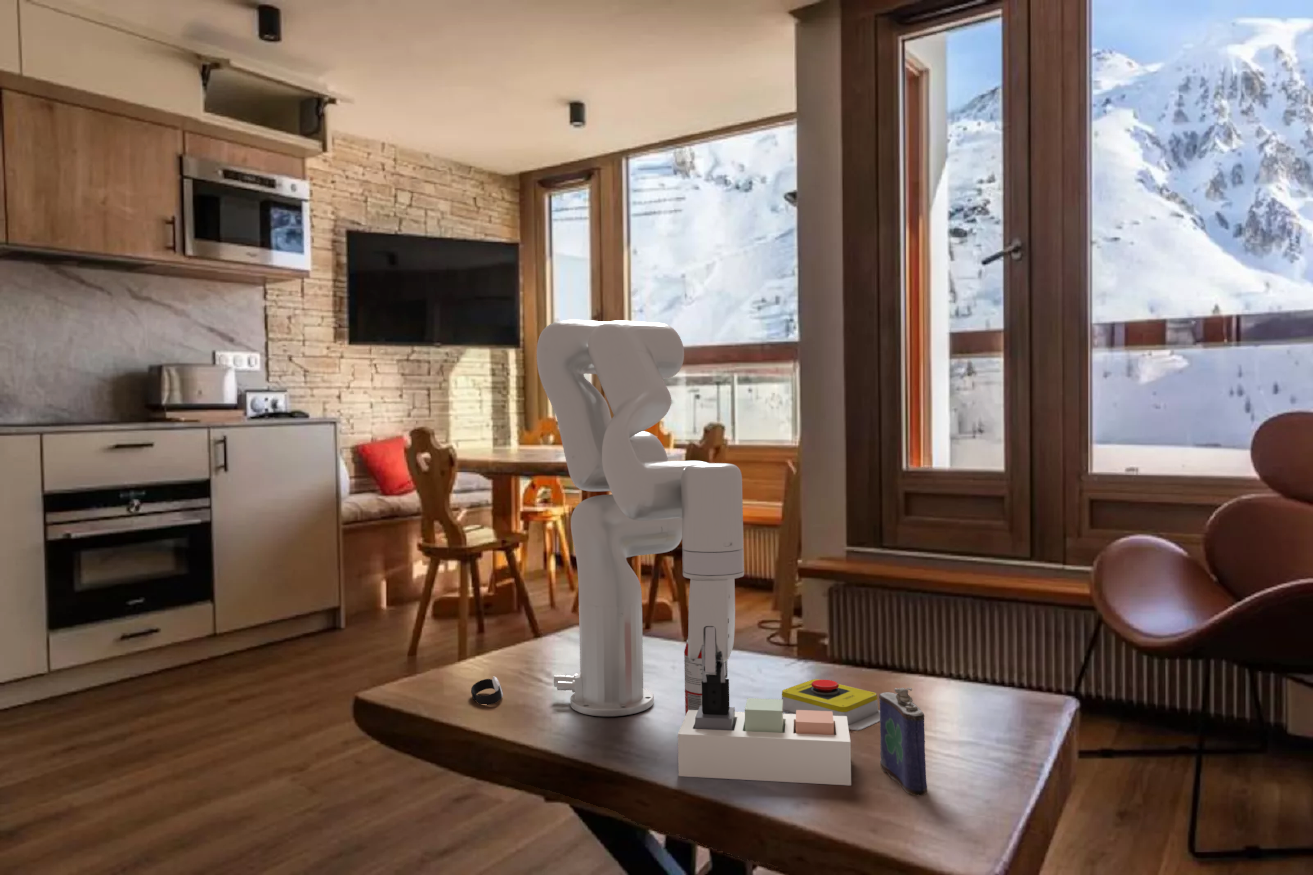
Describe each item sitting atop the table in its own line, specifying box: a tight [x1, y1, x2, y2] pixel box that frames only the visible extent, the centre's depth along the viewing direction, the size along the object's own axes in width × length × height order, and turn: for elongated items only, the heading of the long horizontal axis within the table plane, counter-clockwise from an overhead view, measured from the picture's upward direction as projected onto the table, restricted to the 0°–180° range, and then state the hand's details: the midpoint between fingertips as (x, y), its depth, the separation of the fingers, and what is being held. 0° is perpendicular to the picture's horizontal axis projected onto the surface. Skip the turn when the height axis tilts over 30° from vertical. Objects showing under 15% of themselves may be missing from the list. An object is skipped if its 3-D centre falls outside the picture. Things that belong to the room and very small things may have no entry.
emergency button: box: [781, 678, 880, 731], centre depth 123 cm, size 9×4×15 cm
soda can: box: [683, 638, 703, 716], centre depth 119 cm, size 6×6×12 cm
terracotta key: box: [796, 710, 834, 735], centre depth 102 cm, size 4×4×4 cm
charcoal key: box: [695, 706, 736, 731], centre depth 104 cm, size 4×4×4 cm
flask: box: [878, 687, 928, 797], centre depth 99 cm, size 9×3×11 cm, turn 8°
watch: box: [470, 675, 504, 706], centre depth 132 cm, size 8×5×4 cm, turn 26°
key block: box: [677, 710, 852, 786], centre depth 103 cm, size 20×9×5 cm, turn 80°
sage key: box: [744, 697, 784, 733], centre depth 103 cm, size 4×4×4 cm
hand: (715, 712), depth 104 cm, fingers closed
